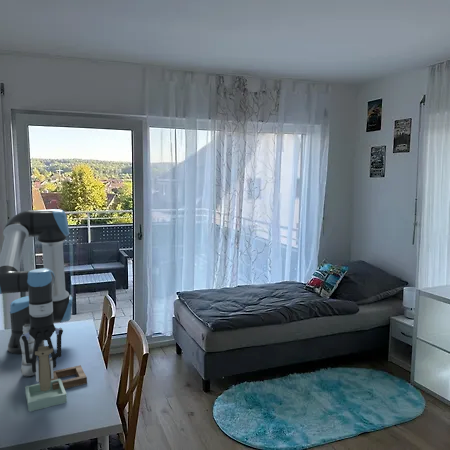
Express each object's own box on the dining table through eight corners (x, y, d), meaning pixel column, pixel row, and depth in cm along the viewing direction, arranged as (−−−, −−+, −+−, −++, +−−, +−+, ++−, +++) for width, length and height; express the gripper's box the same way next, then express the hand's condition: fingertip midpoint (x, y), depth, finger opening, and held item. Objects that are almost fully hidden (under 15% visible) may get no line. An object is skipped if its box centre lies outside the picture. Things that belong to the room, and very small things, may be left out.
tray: (25, 394, 150) (25, 386, 150) (60, 386, 156) (60, 378, 156) (28, 411, 139) (28, 403, 139) (66, 402, 145) (66, 393, 145)
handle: (54, 391, 146) (52, 350, 144) (34, 394, 144) (32, 352, 142) (55, 385, 151) (53, 345, 149) (36, 387, 149) (34, 347, 147)
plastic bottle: (19, 379, 162) (16, 329, 160) (23, 371, 168) (20, 323, 166) (37, 377, 164) (35, 328, 162) (40, 369, 170) (38, 322, 168)
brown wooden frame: (48, 378, 163) (48, 372, 163) (80, 371, 169) (80, 365, 169) (53, 391, 153) (52, 384, 152) (87, 383, 159) (86, 377, 158)
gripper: (14, 321, 137) (18, 389, 139) (69, 313, 145) (72, 377, 148) (13, 315, 143) (17, 380, 146) (65, 307, 152) (68, 369, 154)
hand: (44, 378), depth 147 cm, fingers closed on handle, 4 cm apart
